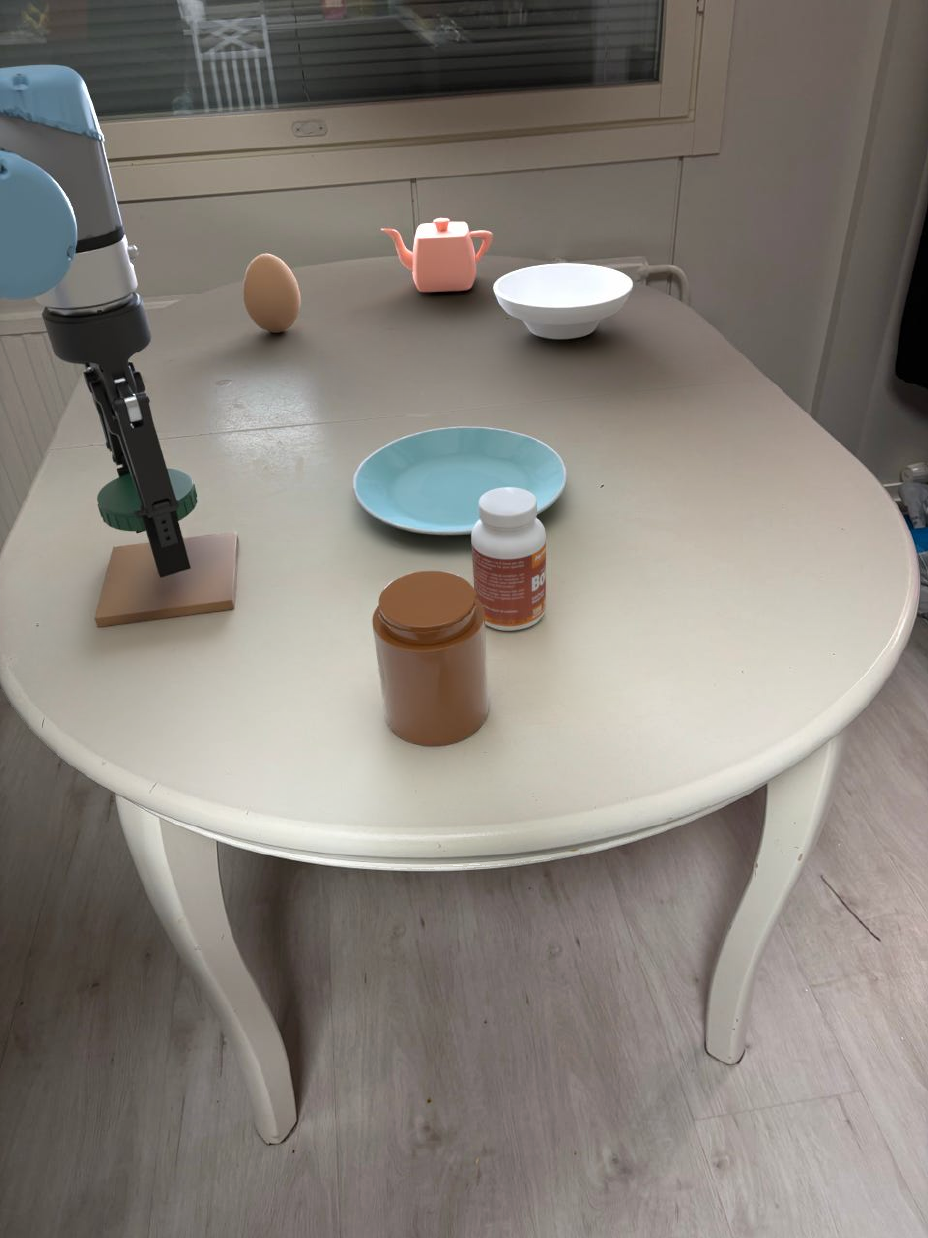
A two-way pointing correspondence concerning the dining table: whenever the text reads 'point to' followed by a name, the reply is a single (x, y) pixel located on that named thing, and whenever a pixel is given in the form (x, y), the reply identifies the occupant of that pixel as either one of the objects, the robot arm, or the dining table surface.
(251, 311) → the egg
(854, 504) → the dining table surface
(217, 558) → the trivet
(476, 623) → the jam jar
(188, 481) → the jar lid
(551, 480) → the plate
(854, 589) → the dining table surface
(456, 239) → the teapot
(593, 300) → the bowl
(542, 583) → the pill bottle
